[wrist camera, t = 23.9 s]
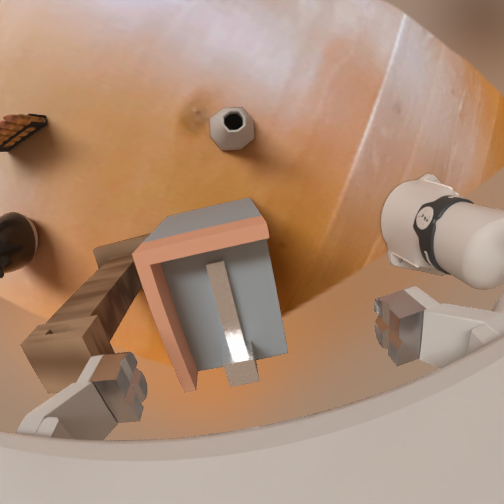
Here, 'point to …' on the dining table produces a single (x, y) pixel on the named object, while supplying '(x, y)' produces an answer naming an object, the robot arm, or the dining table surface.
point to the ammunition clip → (19, 129)
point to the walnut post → (86, 318)
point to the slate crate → (241, 281)
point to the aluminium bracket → (232, 329)
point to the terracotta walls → (158, 291)
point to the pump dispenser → (16, 242)
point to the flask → (231, 128)
